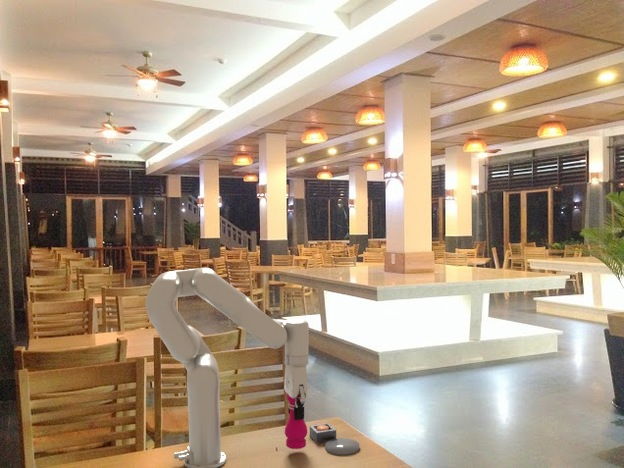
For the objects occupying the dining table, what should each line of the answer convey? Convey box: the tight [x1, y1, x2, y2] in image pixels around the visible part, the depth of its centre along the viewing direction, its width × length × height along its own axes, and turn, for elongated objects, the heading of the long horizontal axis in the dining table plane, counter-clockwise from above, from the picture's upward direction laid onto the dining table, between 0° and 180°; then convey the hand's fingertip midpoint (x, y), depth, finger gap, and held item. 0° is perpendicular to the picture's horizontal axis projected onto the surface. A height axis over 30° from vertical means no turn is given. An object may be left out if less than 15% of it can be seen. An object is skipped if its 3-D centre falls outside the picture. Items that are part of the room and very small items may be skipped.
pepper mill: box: [284, 393, 308, 450], centre depth 179 cm, size 7×7×20 cm
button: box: [317, 425, 329, 431], centre depth 191 cm, size 4×4×2 cm
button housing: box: [309, 422, 337, 444], centre depth 191 cm, size 7×7×4 cm
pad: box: [324, 437, 360, 456], centre depth 183 cm, size 11×11×1 cm
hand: (296, 415), depth 179 cm, fingers closed on pepper mill, 5 cm apart
